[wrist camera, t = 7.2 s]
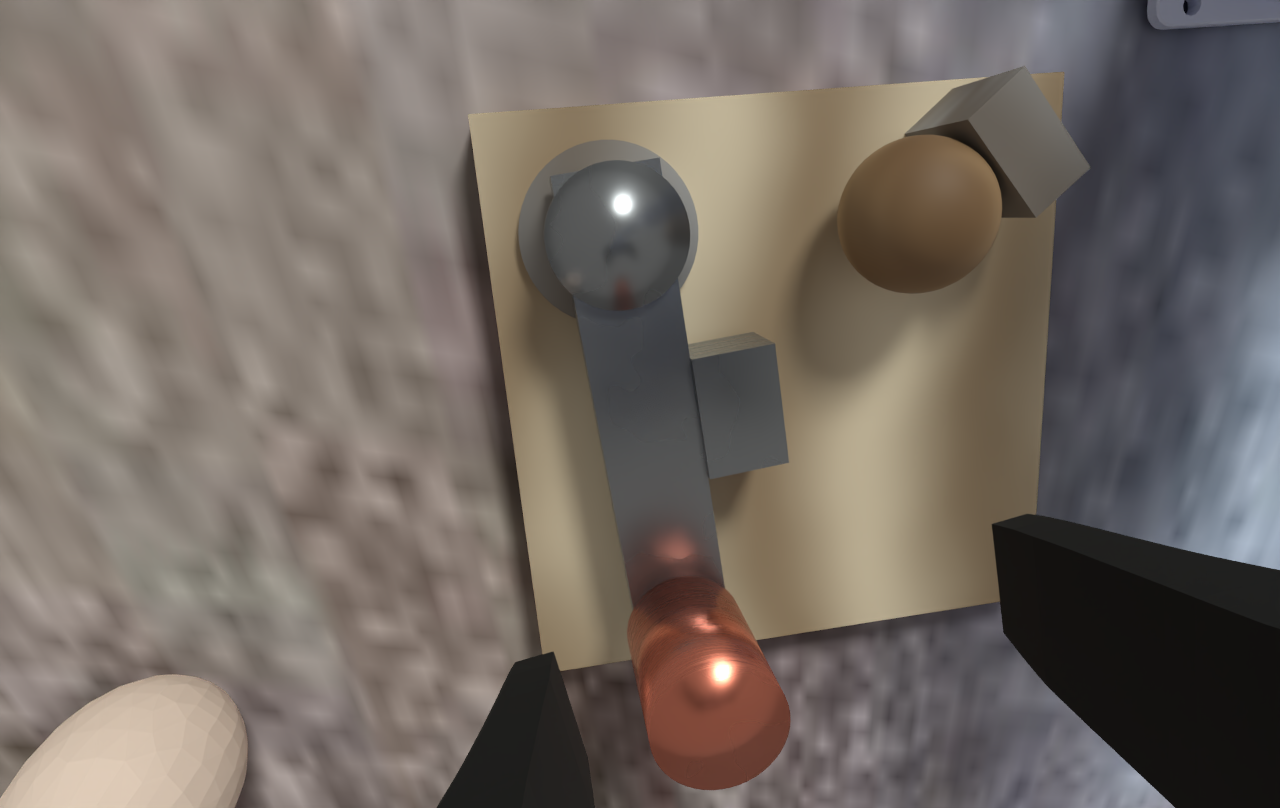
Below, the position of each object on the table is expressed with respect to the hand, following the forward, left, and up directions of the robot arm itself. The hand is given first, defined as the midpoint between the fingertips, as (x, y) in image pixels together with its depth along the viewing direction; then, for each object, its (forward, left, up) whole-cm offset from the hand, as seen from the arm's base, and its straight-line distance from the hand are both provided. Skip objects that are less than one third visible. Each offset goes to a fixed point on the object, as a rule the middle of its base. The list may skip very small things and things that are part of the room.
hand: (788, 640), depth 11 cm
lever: (0, -1, -8) cm, 8 cm away
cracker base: (-3, -2, -10) cm, 10 cm away
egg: (+14, +6, -10) cm, 19 cm away
